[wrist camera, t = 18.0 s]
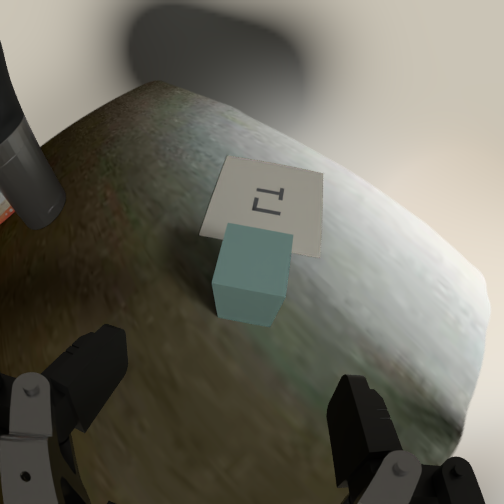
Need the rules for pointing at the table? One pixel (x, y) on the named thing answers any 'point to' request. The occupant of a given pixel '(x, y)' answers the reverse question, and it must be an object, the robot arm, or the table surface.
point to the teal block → (251, 274)
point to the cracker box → (5, 209)
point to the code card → (268, 202)
